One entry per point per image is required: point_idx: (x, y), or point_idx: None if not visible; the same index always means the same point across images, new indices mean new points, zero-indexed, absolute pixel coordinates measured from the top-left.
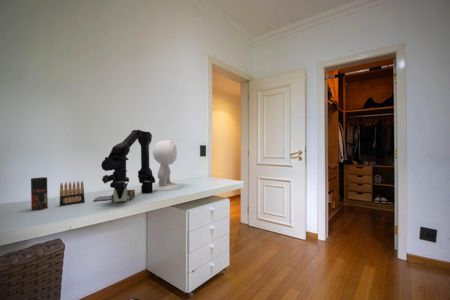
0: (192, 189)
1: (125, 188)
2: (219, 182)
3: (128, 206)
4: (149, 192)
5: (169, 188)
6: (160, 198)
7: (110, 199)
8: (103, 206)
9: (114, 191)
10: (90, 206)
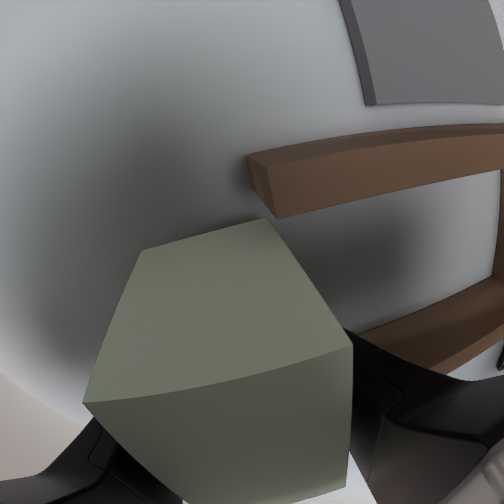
0: None
1: (326, 485)
2: None
3: (79, 413)
4: (502, 358)
5: None
6: None
7: (369, 91)
8: (21, 174)
9: (106, 389)
10: (40, 7)
